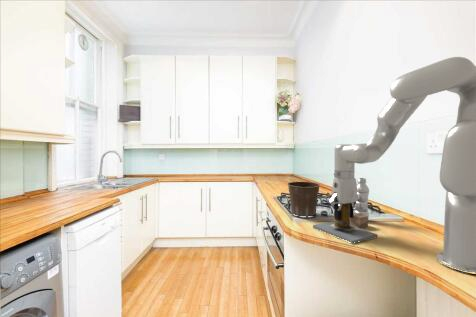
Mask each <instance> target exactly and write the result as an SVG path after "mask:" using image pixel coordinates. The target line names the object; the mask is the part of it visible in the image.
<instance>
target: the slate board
mask: <svg viewBox="0 0 476 317" xmlns="http://www.w3.org/2000/svg"><path fill="white" fill-rule="evenodd" d="M332 224H334V220H331V221H327V222H322V223H317V224H313V225H312V228H313V229H315V230H317V229H318V230H317V231H320V230H321V231H320V232H322V231H323V232H322V233H324V232H326V233H325V234H327V233H329V234H331V235H334V236H336V237H339V238H341V239H344V240H347V241H349V242H351V243H354V242H358V241H362V240H366V241H368V240H367V239H369V240H372V239H371V238H373V239H376V238H375V237H377V238H378V234H376V233H375V232H373V231H372V232H371V231H368V230H366V229H364V228H362V229H360V228H355V229H352V230H345V229H342V228H337V227H333V226H330V225H332ZM329 234H328V235H329ZM331 235H330V236H331ZM334 236H333V237H334ZM336 237H335V238H336ZM339 238H338V239H339ZM341 239H340V240H341ZM362 242H363V241H362Z"/></svg>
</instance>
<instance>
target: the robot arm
mask: <svg viewBox="0 0 476 317" xmlns="http://www.w3.org/2000/svg"><path fill="white" fill-rule="evenodd" d="M445 91H447V92H450V93H453V94H457V95H458V97H459V104H458V108H457V116H456V123H455V124H454V125H453V126H452V127H451V128H450V129H449V130H448V132H447V133H446V135H445V138H444V141H443V142H444V143H443V148H442V154H441V163H440V170H439V182H440V185H441V186H442V188H443V189H444V190H445V191H446V193H445V206H444V225H443V226H444V227H443V250H442V252H439V253H437V254H436V260H437V259H438V260H439V261H440V262H442V263H444V264H446V265H448V266H451V267H453V268H456V269H459V270H462V271H467V272H475V273H476V65H475V64H474V62H472V60H470V59H469V58H466V57H462V56H453V57H449V58H444V59H441V60H439V61H437V62H434V63H431V64H428V65H426V66H423V67H420V68H417V69H415V70H412V71H409V72H407V73H404V74H402V75H400V76H398V78H396V79H395V80H394V81H393V82H392V84H391V86H390V89H389V93H390V99H389V100H388V102H386V105H384V107H383V108H382V109H381V111H380V112H379V114H378V115H377V118H376V119H377V127H376V130H375V132H374V134H373V135H372V136H371V138H370V139H369V140H368V142H367V143H356V144H350V143H348V144H347V143H345V144H343V143H341V144H336V145H335V147H334V172H333V175H334V178H333V180H332V181H333V182H332V187H331V188H332V189H331V198H330V199H329V201H328V203H329V205H331V207H332V209H333V211H334V212H333V213H334V214H333V219H334V218H335V219H337V220H342V211H341V207H342V204H347V203H349V204H350V218H353V217H354V210H355V204H356V202H357V200H358V196H357V184H358V182H357V179H356V177H355V170H356V169H355V165H356V164H359V165H361V164H362V165H363V164H368V163H374V162H376V161H378V160H379V159H380V158H381V157H383V155H385V153H386V152H387V151H388V149H389V148H390V147H391V146H392V144H393V142H394V141H395V139H396V138H397V136H398V134H399V132H400V131H401V128H403V126H404V125H405V124H406V122H407V121H408V120H409V119H410V117H411V116H412V115H413V114H414V112H416V111H417V109H418V108H419V107H420V106H421V105H422V104H423V102H424V101H425V99H426V98H427V97H428V96H430V95H431V96H432V95H433V94H437V93H440V92H445ZM337 204H339V205H338V206H337ZM438 260H437V261H438ZM440 262H439V263H440Z"/></svg>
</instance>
